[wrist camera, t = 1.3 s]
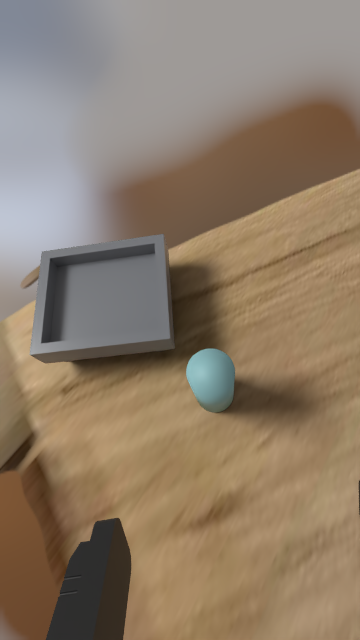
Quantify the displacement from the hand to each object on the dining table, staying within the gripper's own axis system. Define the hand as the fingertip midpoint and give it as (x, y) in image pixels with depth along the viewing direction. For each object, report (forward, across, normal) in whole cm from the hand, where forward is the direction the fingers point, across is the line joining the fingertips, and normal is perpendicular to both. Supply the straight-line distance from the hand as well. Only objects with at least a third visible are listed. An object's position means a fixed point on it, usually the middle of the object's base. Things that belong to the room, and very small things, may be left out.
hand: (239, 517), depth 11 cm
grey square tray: (+35, +10, +2) cm, 37 cm away
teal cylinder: (+26, -1, +11) cm, 29 cm away
